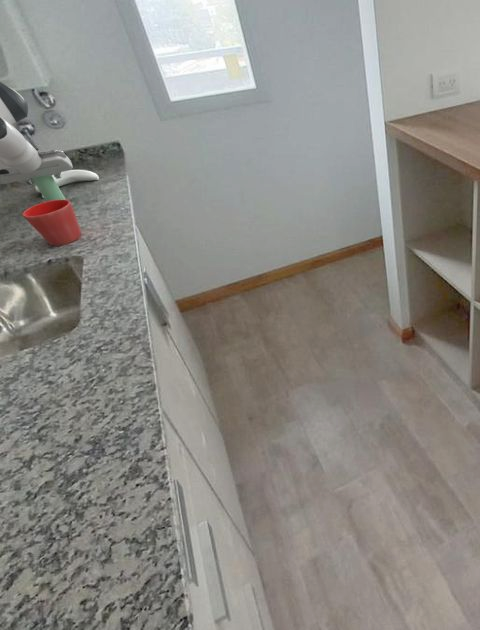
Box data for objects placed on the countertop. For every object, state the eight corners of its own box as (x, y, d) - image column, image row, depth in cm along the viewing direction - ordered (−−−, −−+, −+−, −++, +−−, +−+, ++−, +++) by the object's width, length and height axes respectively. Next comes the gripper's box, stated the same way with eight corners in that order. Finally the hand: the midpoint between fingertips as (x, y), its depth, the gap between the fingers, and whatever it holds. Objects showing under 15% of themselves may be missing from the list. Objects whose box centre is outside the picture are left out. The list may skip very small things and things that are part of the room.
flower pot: (88, 240, 123) (68, 208, 117) (42, 252, 119) (19, 219, 113) (89, 227, 130) (70, 195, 124) (45, 238, 126) (24, 206, 120)
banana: (101, 175, 168) (96, 188, 157) (45, 189, 163) (37, 203, 152) (93, 162, 165) (88, 174, 154) (36, 176, 160) (27, 189, 149)
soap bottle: (48, 207, 145) (19, 162, 136) (49, 202, 149) (21, 158, 140) (66, 203, 147) (39, 158, 138) (67, 198, 151) (40, 154, 142)
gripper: (57, 140, 135) (76, 163, 148) (-24, 155, 127) (3, 178, 140) (64, 158, 134) (83, 180, 147) (-17, 174, 127) (10, 196, 140)
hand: (43, 179), depth 144 cm, fingers open, 7 cm apart
